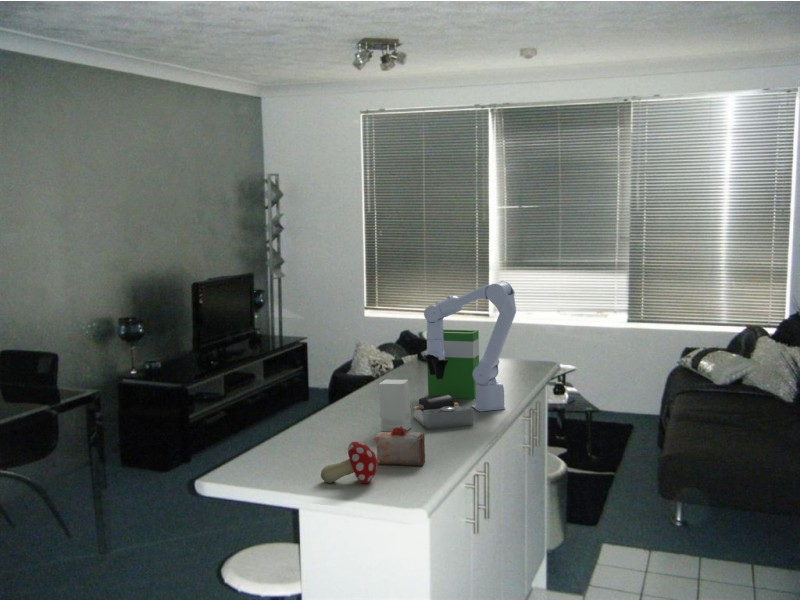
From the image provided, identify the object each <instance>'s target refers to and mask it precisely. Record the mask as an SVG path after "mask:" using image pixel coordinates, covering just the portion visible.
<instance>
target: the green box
mask: <svg viewBox="0 0 800 600" xmlns="http://www.w3.org/2000/svg"><path fill="white" fill-rule="evenodd" d="M479 337H480V336H479V330H473V329H469V330H468V329H444V328H443V338H444V354H445V359H448V362H447V364H446V367H445V370H444V375H443V379H437V378H436V375H430V372H429V368H428V364H427V363H426V364H427V395H428V397H433V396H437V395H441V396H445V395H450V396H451V397H452V399H453V398H454V399H470V400H476V392H475V380H474V379H473V370H474V369H475V368H476V367H477V366H478V364H479V362H480V346H479V345H480V344H479V343H480V342H479V341H480V340H479V339H480V338H479ZM427 348H428V346H427V345H426V349H427ZM426 355H428V354H426Z"/></svg>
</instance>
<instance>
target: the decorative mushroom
mask: <svg viewBox="0 0 800 600" xmlns="http://www.w3.org/2000/svg"><path fill="white" fill-rule="evenodd" d="M347 453H348V458H349V459H345V460H343V461H341V462H338V463H334V464H332V463H331V464H328V465H326V466H324V467H323V469H322V470H321V471H320V472H321V473H320V477H321V479H322V480H323V481H324V482H325V483H330V484H331V483H334V482H336V481H338V480H340V479H342V478H343V477H345V476H348V475H351V474H353V473H354V475H355V476H356V478H357V480H358V481H359V482H360V483H361V484H368V483H370V482H371V481H372V480H373V478H375V475H376V473H377V469H378V463H377V455H376V453H375V451H373V449H371V448H370V446H368V445H367V444H365V443H364V442H359V441H351V442H350V443H349V445H348V448H347Z"/></svg>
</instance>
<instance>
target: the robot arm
mask: <svg viewBox="0 0 800 600" xmlns="http://www.w3.org/2000/svg"><path fill="white" fill-rule="evenodd" d="M480 299H482V300H489V302H491V304H492V305H494V306H495V307H496V309H497V311H498V313H499V314H498V316H497V319H496V322H495V324H494V327H493V329H492V332H491V335H490V338H489V341H488V342H487V343H488V344H487V346H486V347H485V352H484V355H482V357H481V359H479V364H478V366H477V367H476V368H475V369H474V370H473V379H474V380H475V392H476V398H475V404H471V407H472V408H474V409H475V410H476V411H478V412H488V411H489V412H490V411H497V410H499V411H500V410H505V409H506V407H505V388H504V385H503V383H502V382H501V381H497V379H496V377H497V376H498V375H499V365H500V356H501V354H502V353H501V352H502V351H503V348H504V345H505V343H506V340H507V339H508V335H509V332H510V329H511V328H512V324H513V322H514V319H515V317H516V315H517V314H516V313H517V306H516V301H515V290H514V289H513V287H512V285H511V284H510V283H509V282H508V281H504V280H502V281H499V282H497V283H491V284H487V285H483V286H480V287H478V288H475V289H474V290H472V291H470V292H467V293H465V294H463V295H461V296H457V295H451V294H450V295H448V296H446V298H445V299H443V300H441V301H439V300H438V301H435V304H431V305H428V306H427V307H426V308H425V309H424V312H423V316H424V319H425V320H426V350H425V351H423V352H424V354H425V355H424V356H423V358H424V359H425V361H426V364H428V367H427V369H428V368H429V372H430V375H436V378H437V379H443V375H444V370H445V367H446V364H447V362H448V359H445V354H444V338H443V329H444V318H447V317H449V316H452V315H454V314H456V313H459V312H460V311H462V310H463V307H464V306H465V305H468V304H470V303H473V302H475V301H477V300H480ZM427 346H428V348H427ZM427 354H428V355H427Z"/></svg>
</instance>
